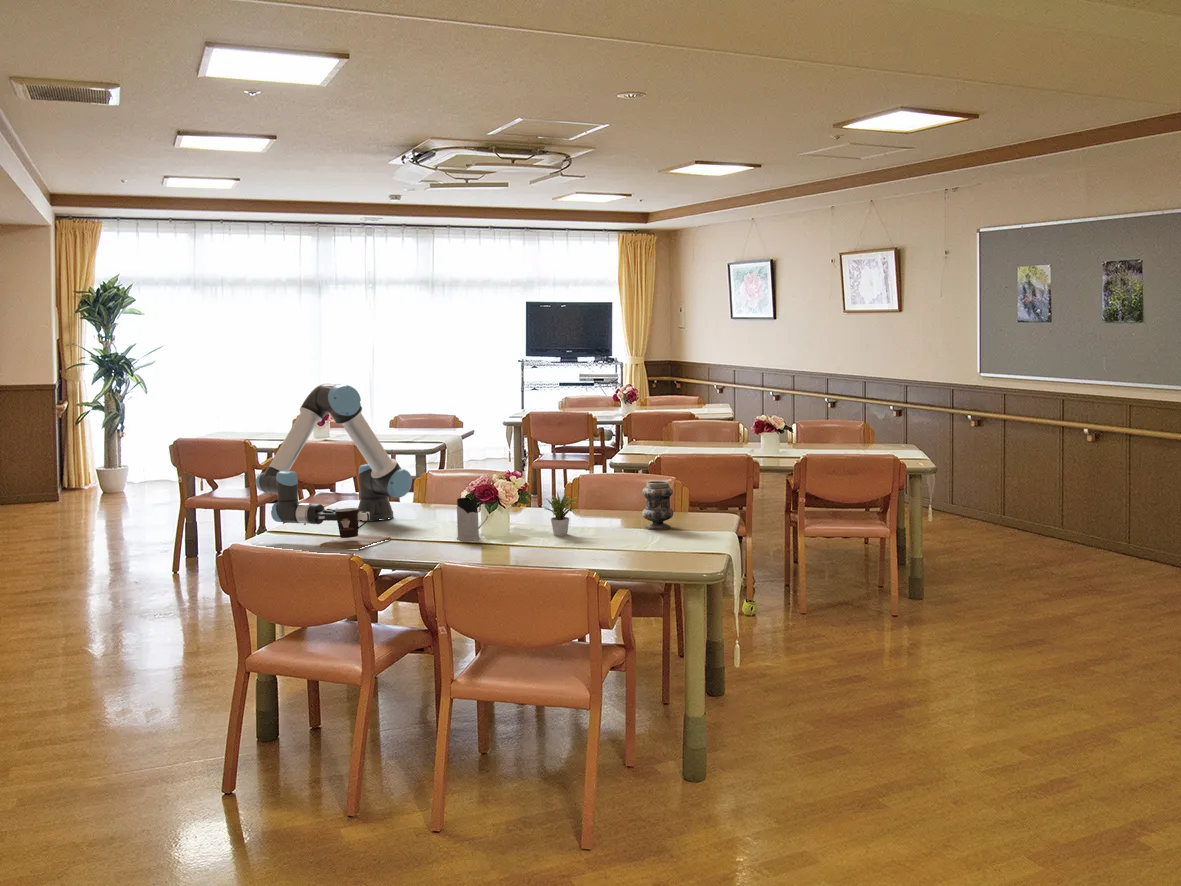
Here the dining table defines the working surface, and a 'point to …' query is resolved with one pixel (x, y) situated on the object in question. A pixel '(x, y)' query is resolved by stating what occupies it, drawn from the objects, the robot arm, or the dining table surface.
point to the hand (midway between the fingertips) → (367, 516)
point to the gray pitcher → (468, 519)
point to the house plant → (560, 515)
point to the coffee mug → (348, 522)
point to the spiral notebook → (354, 542)
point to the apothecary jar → (657, 504)
